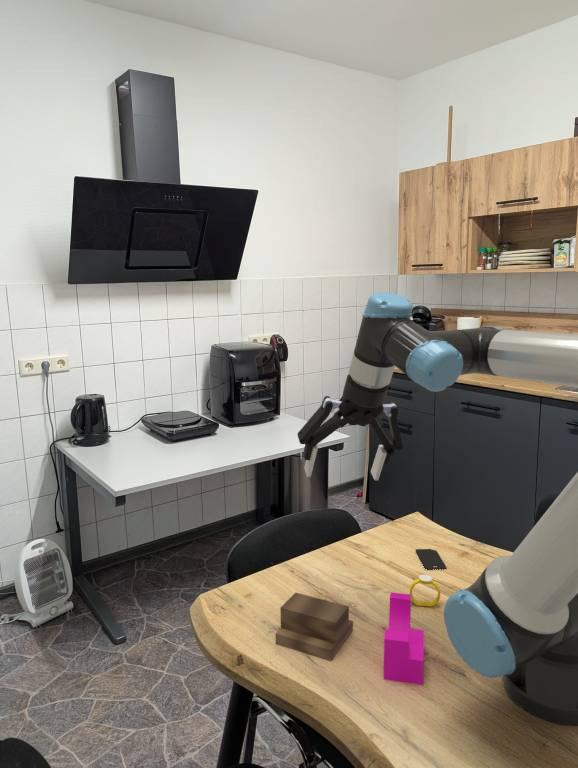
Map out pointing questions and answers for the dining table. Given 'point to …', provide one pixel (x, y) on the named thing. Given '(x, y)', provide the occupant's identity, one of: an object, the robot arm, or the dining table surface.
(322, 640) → the brown stepped wooden stand
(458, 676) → the dining table surface
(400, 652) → the toy block
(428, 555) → the black smartphone
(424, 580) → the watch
